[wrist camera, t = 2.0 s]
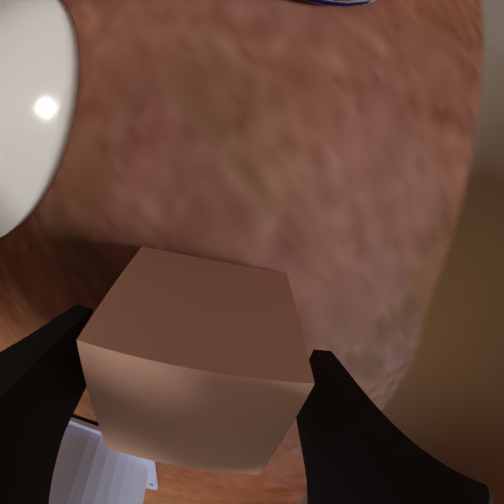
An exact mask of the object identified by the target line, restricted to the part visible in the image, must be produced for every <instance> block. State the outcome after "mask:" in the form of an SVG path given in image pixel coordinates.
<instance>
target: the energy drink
mask: <svg viewBox="0 0 504 504" xmlns="http://www.w3.org/2000/svg"><path fill="white" fill-rule="evenodd" d="M304 1H307V2H311V3H316V4H321V5H327V6H340V7H348V6H360V5H364V4H367V3H371V2H374V1H376V0H304Z"/></svg>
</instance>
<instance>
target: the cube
mask: <svg viewBox="0 0 504 504" xmlns="http://www.w3.org/2000/svg"><path fill="white" fill-rule="evenodd" d="M76 341H77V346H78V351H79V356H80V360H81V365H82V369H83V373H84V377H85V381H86V385H87V389H88V392H89V396H90V399H91V403H92V406H93V410H94V413H95V416H96V419H97V422H98V425H99V428H100V431H101V434H102V437H103V440H104V442H105V445H106V448H107V449H111V450H114V451H117V452H121V453H124V454H128V455H132V456H136V457H139V458H144V459H148V460H152V461H157V462H161V463H166V464H171V465H176V466H182V467H188V468H194V469H201V470H209V471H217V472H227V473H238V474H254V475H260V473H261V472H262V470H263V469H264V467H265V466H266V464H267V463H268V461H269V460H270V458H271V457H272V455H273V454H274V452H275V451H276V449H277V448H278V446H279V444H280V443H281V441H282V440H283V438H284V436H285V435H286V433H287V431H288V430H289V428H290V426H291V425H292V423H293V421H294V420H295V418H296V416H297V415H298V413H299V411H300V409H301V408H302V406H303V404H304V402H305V401H306V399H307V397H308V395H309V393H310V392H311V390H312V388H313V386H314V384H315V382H314V378H313V374H312V370H311V366H310V362H309V358H308V353H307V349H306V345H305V341H304V337H303V334H302V330H301V326H300V322H299V318H298V314H297V310H296V306H295V302H294V299H293V295H292V291H291V287H290V284H289V280H288V276H287V273H282V272H276V271H271V270H265V269H259V268H254V267H249V266H243V265H238V264H232V263H227V262H221V261H216V260H211V259H205V258H200V257H195V256H190V255H184V254H179V253H174V252H169V251H164V250H158V249H153V248H148V247H143V246H142V247H141V248H140V249H139V251H138V252H137V253H136V255H135V256H134V257H133V259H132V260H131V261H130V263H129V264H128V265H127V267H126V268H125V269H124V271H123V272H122V274H121V275H120V276H119V278H118V279H117V280H116V282H115V283H114V285H113V286H112V287H111V289H110V290H109V292H108V293H107V295H106V296H105V297H104V299H103V300H102V302H101V303H100V305H99V306H98V308H97V309H96V311H95V312H94V314H93V315H92V317H91V318H90V320H89V321H88V323H87V324H86V326H85V327H84V329H83V330H82V332H81V333H80V335H79V337H78V338H77V340H76Z"/></svg>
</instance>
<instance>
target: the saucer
mask: <svg viewBox="0 0 504 504" xmlns="http://www.w3.org/2000/svg"><path fill="white" fill-rule="evenodd" d="M79 74H80V55H79V42H78V36H77V30H76V27H75V24H74V21H73V17H72V15H71V14H70V12H69V10H68V8H67V6H66V5H65V4H64V3H63V1H62V0H0V237H2V236H4V235H5V234H7V233H9V232H10V231H12V230H13V229H15V228H17V227H18V226H19V225H21V224H22V223H23V222H24V221H26V220H27V219H28V218H29V216H30V215H31V214H32V213H33V212H34V211H35V210H36V209H37V207H38V206H39V204H40V203H41V201H42V200H43V199H44V197H45V195H46V193H47V192H48V190H49V188H50V186H51V184H52V183H53V180H54V178H55V176H56V173H57V171H58V169H59V167H60V164H61V161H62V158H63V155H64V152H65V150H66V147H67V143H68V139H69V136H70V132H71V129H72V124H73V119H74V114H75V109H76V104H77V96H78V88H79Z"/></svg>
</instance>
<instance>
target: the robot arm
mask: <svg viewBox="0 0 504 504" xmlns="http://www.w3.org/2000/svg"><path fill="white" fill-rule="evenodd" d="M92 315H93V309H91V308H87V307H84V306H80V305H76V306H74V307H72V308H71V309H69V310H67V311H66V312H64V313H63V314H61V315H60V316H58V317H57V318H55V319H53V320H52V321H50V322H49V323H47V324H46V325H44V326H43V327H41V328H40V329H38V330H36V331H35V332H33V333H32V334H30V335H29V336H27V337H25V338H24V339H22V340H20V341H18V342H17V343H15V344H13V345H12V346H10V347H8V348H7V349H5V350H3V351H1V352H0V504H143V500H144V495H145V489H146V488H148V489H152V490H157V489H158V482H157V474H156V465H155V461H152V460H148V459H144V458H139V457H136V456H132V455H128V454H124V453H121V452H117V451H114V450H111V449H107V448H106V445H105V442H104V440H103V437H102V434H101V431H100V428H99V426H96V425H93V424H90V423H87V422H85V421H82V420H79V419H76V418H74V417H72V415H73V413H74V411H75V409H76V407H77V405H78V402H79V400H80V398H81V396H82V394H83V392H84V390H85V388H86V386H87V385H86V381H85V377H84V373H83V369H82V365H81V360H80V356H79V351H78V346H77V341H76V340H77V338H78V337H79V335H80V333H81V332H82V330H83V329H84V327H85V326H86V324H87V323H88V321H89V320H90V318H91V317H92ZM309 362H310V366H311V370H312V374H313V378H314V382H315V384H314V386H313V388H312V390H311V392H310V393H309V395H308V397H307V399H306V401H305V402H304V404H303V406H302V408H301V409H300V411H299V413H298V415H297V416H296V419H297V425H298V430H299V436H300V442H301V447H302V453H303V458H304V464H305V470H306V478H307V496H308V504H494V503H493V500H492V497H491V495H490V492H489V490H488V487H487V485H485V484H483V483H480V482H478V481H476V480H473V479H471V478H469V477H467V476H464V475H462V474H460V473H458V472H457V471H455V470H453V469H451V468H449V467H448V466H446V465H444V464H443V463H441V462H440V461H438V460H437V459H435V458H434V457H432V456H431V455H429V454H428V453H426V452H425V451H424V450H422V449H421V448H420V447H419V446H417V445H416V444H415V443H414V442H412V441H411V440H410V439H409V438H408V437H406V436H405V435H404V434H403V433H402V432H401V431H400V430H399V429H398V428H396V427H395V425H393V424H392V423H391V422H390V420H388V418H387V417H386V416H385V415H384V414H383V413H382V412H381V411H380V410H379V409H378V408H377V407H376V405H375V404H374V403H373V402H372V401H371V400H370V399H369V397H368V396H367V395H366V394H365V393H364V391H363V390H362V389H361V388H360V387H359V385H358V384H357V383H356V382H355V380H354V379H353V378H352V377H351V375H350V374H349V373H348V372H347V370H346V369H345V368H344V367H343V365H342V364H341V363H340V361H339V360H338V359H337V358H336V357H335V355H334V354H333V353H332V352H331V351H324V350H313V353H312V355H311V357H310V359H309Z"/></svg>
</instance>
